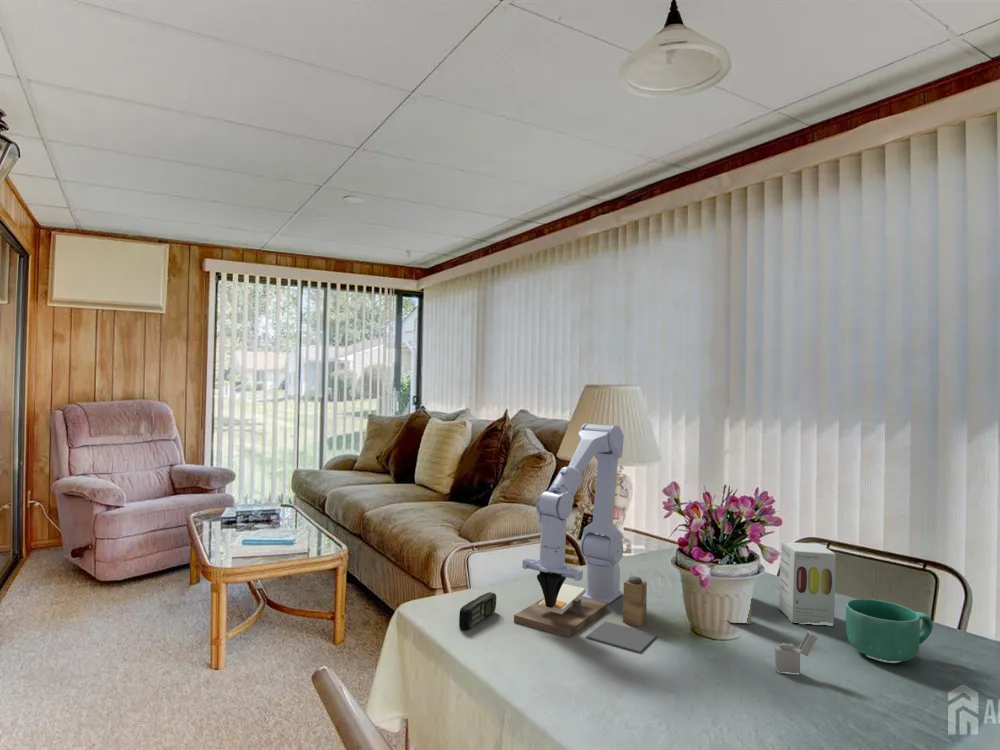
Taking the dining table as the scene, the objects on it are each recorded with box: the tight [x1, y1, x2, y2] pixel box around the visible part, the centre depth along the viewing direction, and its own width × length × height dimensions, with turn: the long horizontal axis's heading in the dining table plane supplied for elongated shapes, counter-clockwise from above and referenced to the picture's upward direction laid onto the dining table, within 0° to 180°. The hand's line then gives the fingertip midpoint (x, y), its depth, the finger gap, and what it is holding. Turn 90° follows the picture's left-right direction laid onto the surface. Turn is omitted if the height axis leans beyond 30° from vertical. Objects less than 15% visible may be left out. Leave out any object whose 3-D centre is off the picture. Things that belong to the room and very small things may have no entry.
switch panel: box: [513, 597, 609, 638], centre depth 139 cm, size 20×14×4 cm
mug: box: [845, 598, 934, 662], centre depth 121 cm, size 17×13×10 cm
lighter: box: [774, 630, 818, 674], centre depth 113 cm, size 7×2×8 cm, turn 78°
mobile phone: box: [458, 591, 497, 631], centre depth 136 cm, size 5×3×15 cm
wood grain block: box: [622, 576, 648, 627], centre depth 136 cm, size 4×4×10 cm
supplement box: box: [778, 541, 837, 624], centre depth 141 cm, size 10×9×17 cm
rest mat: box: [585, 621, 658, 654], centre depth 128 cm, size 10×12×1 cm
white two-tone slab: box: [538, 583, 586, 614], centre depth 139 cm, size 12×6×1 cm, turn 146°
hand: (550, 606), depth 134 cm, fingers closed, pressing on white two-tone slab
